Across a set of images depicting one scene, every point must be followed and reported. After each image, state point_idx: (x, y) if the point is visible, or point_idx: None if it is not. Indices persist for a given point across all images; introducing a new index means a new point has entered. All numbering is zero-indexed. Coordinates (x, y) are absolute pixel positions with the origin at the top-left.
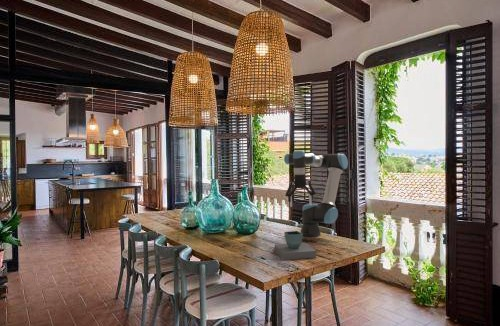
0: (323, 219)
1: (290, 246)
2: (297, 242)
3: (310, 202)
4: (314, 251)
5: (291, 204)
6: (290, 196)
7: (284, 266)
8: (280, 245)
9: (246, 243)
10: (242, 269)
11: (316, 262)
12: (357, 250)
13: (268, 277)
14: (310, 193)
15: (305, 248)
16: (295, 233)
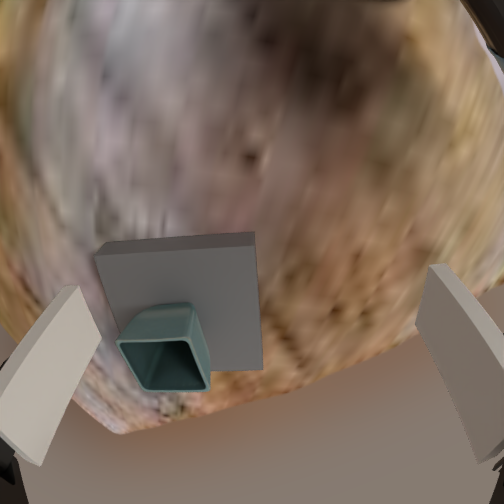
0: (492, 46)
1: (160, 344)
2: (188, 360)
3: (434, 353)
4: (256, 368)
5: (79, 363)
6: (17, 467)
7: (148, 392)
8: (120, 278)
9: (2, 109)
10: None
11: (247, 385)
12: None
13: (120, 424)
14: (498, 499)
15: (229, 339)
16: (180, 331)
